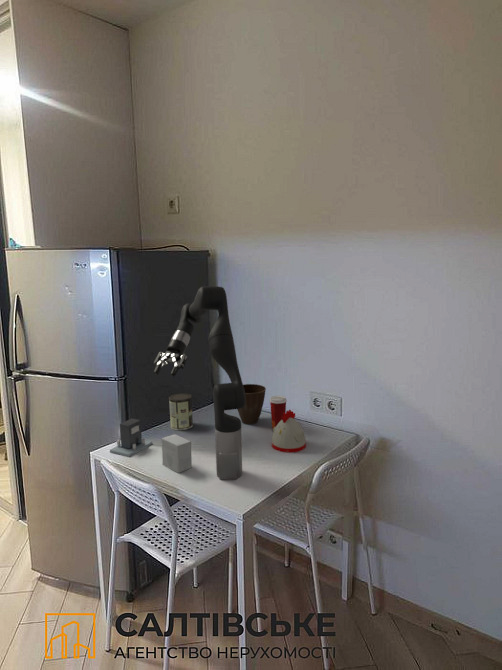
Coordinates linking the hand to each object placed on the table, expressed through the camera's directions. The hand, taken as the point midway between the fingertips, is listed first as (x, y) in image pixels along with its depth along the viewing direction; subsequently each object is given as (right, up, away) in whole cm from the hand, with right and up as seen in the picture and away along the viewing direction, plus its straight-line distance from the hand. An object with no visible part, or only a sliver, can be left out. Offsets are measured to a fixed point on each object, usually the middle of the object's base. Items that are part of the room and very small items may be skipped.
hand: (163, 374), depth 195 cm
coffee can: (+5, -25, +18) cm, 31 cm away
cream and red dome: (+52, -29, -5) cm, 59 cm away
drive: (-12, -28, -5) cm, 31 cm away
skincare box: (+9, -32, -22) cm, 40 cm away
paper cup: (+49, -25, +14) cm, 56 cm away
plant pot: (+36, -24, +22) cm, 49 cm away
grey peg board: (-12, -29, -5) cm, 32 cm away
